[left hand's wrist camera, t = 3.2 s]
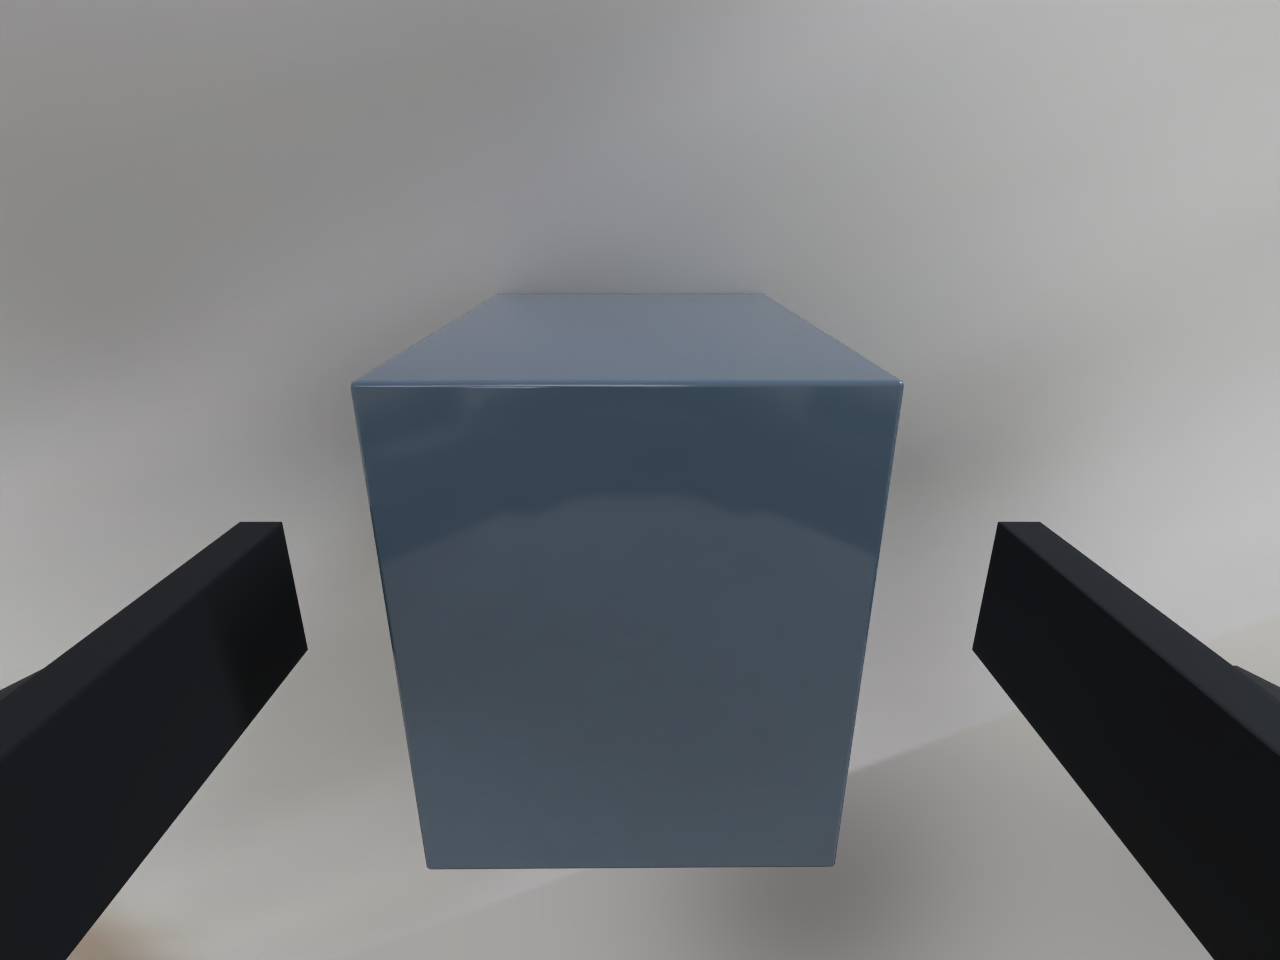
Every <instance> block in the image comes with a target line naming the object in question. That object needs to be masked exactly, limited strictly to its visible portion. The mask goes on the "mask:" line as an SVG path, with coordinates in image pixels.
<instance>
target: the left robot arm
mask: <svg viewBox="0 0 1280 960" xmlns="http://www.w3.org/2000/svg"><path fill="white" fill-rule="evenodd" d="M307 650H308V648H307V643H306V638H305V633H304V628H303V623H302V618H301V614H300V609H299V604H298V599H297V594H296V589H295V584H294V579H293V574H292V569H291V564H290V559H289V554H288V550H287V545H286V540H285V535H284V530H283V525H282V522H239V523H238V524H237V525H235V526H234V527H233V528H231V529H230V530H229V531H227V532H226V533H225V534H223V535H222V536H221V537H219V538H218V539H217V540H215V541H214V542H213V543H211V544H210V545H208V546H207V547H206V548H204V549H203V550H202V551H200V552H199V553H198V554H196V555H195V556H194V557H192V558H191V559H190V560H188V561H187V562H186V563H184V564H183V565H182V566H180V567H179V568H178V569H176V570H175V571H174V572H172V573H171V574H170V575H168V576H167V577H166V578H164V579H163V580H162V581H160V582H159V583H158V584H156V585H155V586H154V587H152V588H151V589H150V590H148V591H147V592H145V593H144V594H143V595H141V596H140V597H139V598H137V599H136V600H135V601H133V602H132V603H131V604H129V605H128V606H127V607H125V608H124V609H123V610H121V611H120V612H119V613H117V614H116V615H115V616H113V617H112V618H111V619H109V620H108V621H107V622H105V623H104V624H103V625H101V626H100V627H99V628H97V629H96V630H95V631H93V632H92V633H91V634H89V635H88V636H87V637H85V638H84V639H82V640H81V641H80V642H78V643H77V644H76V645H74V646H73V647H72V648H70V649H69V650H68V651H66V652H65V653H64V654H62V655H61V656H60V657H58V658H57V659H56V660H54V661H53V662H52V663H50V664H49V665H48V666H46V667H45V668H44V669H42V670H40V671H38V672H36V673H34V674H32V675H30V676H28V677H26V678H24V679H22V680H20V681H18V682H16V683H14V684H12V685H10V686H8V687H6V688H4V689H2V690H0V960H66V959H67V958H68V956H69V955H70V954H71V952H72V951H73V950H74V949H75V947H76V946H77V945H78V943H79V942H80V941H81V940H82V938H83V937H84V936H85V935H86V933H87V932H88V931H89V929H90V928H91V927H92V926H93V924H94V923H95V922H96V920H97V919H98V918H99V917H100V915H101V914H102V913H103V911H104V910H105V909H106V908H107V906H108V905H109V904H110V902H111V901H112V900H113V899H114V897H115V896H116V895H117V893H118V892H119V891H120V890H121V888H122V887H123V886H124V885H125V883H126V882H127V881H128V879H129V878H130V877H131V876H132V874H133V873H134V872H135V870H136V869H137V868H138V867H139V865H140V864H141V863H142V861H143V860H144V859H145V858H146V856H147V855H148V854H149V852H150V851H151V850H152V849H153V847H154V846H155V845H156V843H157V842H158V841H159V840H160V838H161V837H162V836H163V835H164V833H165V832H166V831H167V829H168V828H169V827H170V826H171V824H172V823H173V822H174V820H175V819H176V818H177V817H178V815H179V814H180V813H181V811H182V810H183V809H184V808H185V806H186V805H187V804H188V802H189V801H190V800H191V799H192V797H193V796H194V795H195V793H196V792H197V791H198V790H199V788H200V787H201V786H202V784H203V783H204V782H205V781H206V779H207V778H208V777H209V776H210V774H211V773H212V772H213V770H214V769H215V768H216V767H217V765H218V764H219V763H220V761H221V760H222V759H223V758H224V756H225V755H226V754H227V752H228V751H229V750H230V749H231V747H232V746H233V745H234V743H235V742H236V741H237V740H238V738H239V737H240V736H241V734H242V733H243V732H244V731H245V729H246V728H247V727H248V726H249V724H250V723H251V722H252V720H253V719H254V718H255V717H256V715H257V714H258V713H259V711H260V710H261V709H262V708H263V706H264V705H265V704H266V702H267V701H268V700H269V699H270V697H271V696H272V695H273V693H274V692H275V691H276V690H277V688H278V687H279V686H280V684H281V683H282V682H283V681H284V679H285V678H286V677H287V676H288V674H289V673H290V672H291V670H292V669H293V668H294V667H295V665H296V664H297V663H298V661H299V660H300V659H301V658H302V656H303V655H304V654H305V652H306V651H307ZM972 650H973V651H974V652H975V654H976V655H977V656H978V658H979V659H980V660H981V661H982V663H983V664H984V665H985V667H986V668H987V669H988V670H989V672H990V673H991V674H992V676H993V677H994V678H995V679H996V681H997V682H998V683H999V684H1000V686H1001V687H1002V688H1003V690H1004V691H1005V692H1006V693H1007V695H1008V696H1009V697H1010V699H1011V700H1012V701H1013V702H1014V704H1015V705H1016V706H1017V708H1018V709H1019V710H1020V711H1021V713H1022V714H1023V715H1024V717H1025V718H1026V719H1027V720H1028V722H1029V723H1030V724H1031V726H1032V727H1033V728H1034V729H1035V731H1036V732H1037V733H1038V734H1039V736H1040V737H1041V738H1042V740H1043V741H1044V742H1045V743H1046V745H1047V746H1048V747H1049V749H1050V750H1051V751H1052V752H1053V754H1054V755H1055V756H1056V758H1057V759H1058V760H1059V761H1060V763H1061V764H1062V765H1063V767H1064V768H1065V769H1066V770H1067V772H1068V773H1069V774H1070V776H1071V777H1072V778H1073V779H1074V781H1075V782H1076V783H1077V785H1078V786H1079V787H1080V788H1081V790H1082V791H1083V792H1084V793H1085V795H1086V796H1087V797H1088V799H1089V800H1090V801H1091V802H1092V804H1093V805H1094V806H1095V808H1096V809H1097V810H1098V811H1099V813H1100V814H1101V815H1102V817H1103V818H1104V819H1105V820H1106V822H1107V823H1108V824H1109V826H1110V827H1111V828H1112V829H1113V831H1114V832H1115V833H1116V835H1117V836H1118V837H1119V838H1120V840H1121V841H1122V842H1123V843H1124V845H1125V846H1126V847H1127V849H1128V850H1129V851H1130V852H1131V854H1132V855H1133V856H1134V858H1135V859H1136V860H1137V861H1138V863H1139V864H1140V865H1141V867H1142V868H1143V869H1144V870H1145V872H1146V873H1147V874H1148V875H1149V877H1150V878H1151V879H1152V881H1153V882H1154V883H1155V884H1156V886H1157V887H1158V888H1159V890H1160V891H1161V892H1162V893H1163V895H1164V896H1165V897H1166V899H1167V900H1168V901H1169V902H1170V904H1171V905H1172V906H1173V908H1174V909H1175V910H1176V911H1177V913H1178V914H1179V915H1180V916H1181V918H1182V919H1183V920H1184V922H1185V923H1186V924H1187V926H1188V927H1189V928H1190V929H1191V931H1192V932H1193V933H1194V935H1195V936H1196V937H1197V938H1198V940H1199V941H1200V942H1201V943H1202V945H1203V946H1204V947H1205V949H1206V950H1207V951H1208V952H1209V954H1210V955H1211V956H1212V958H1213V959H1214V960H1280V687H1278V686H1276V685H1274V684H1272V683H1270V682H1268V681H1266V680H1264V679H1262V678H1260V677H1258V676H1256V675H1254V674H1252V673H1250V672H1248V671H1246V670H1244V669H1242V668H1240V667H1238V666H1232V665H1231V664H1230V663H1228V662H1227V661H1226V660H1224V659H1223V658H1222V657H1220V656H1219V655H1218V654H1216V653H1215V652H1214V651H1212V650H1211V649H1210V648H1208V647H1207V646H1206V645H1204V644H1203V643H1202V642H1200V641H1199V640H1198V639H1196V638H1195V637H1193V636H1192V635H1191V634H1189V633H1188V632H1187V631H1185V630H1184V629H1183V628H1181V627H1180V626H1179V625H1177V624H1176V623H1175V622H1173V621H1172V620H1171V619H1169V618H1168V617H1167V616H1165V615H1164V614H1163V613H1161V612H1160V611H1159V610H1157V609H1156V608H1155V607H1153V606H1152V605H1151V604H1149V603H1148V602H1147V601H1145V600H1144V599H1143V598H1141V597H1140V596H1139V595H1137V594H1136V593H1135V592H1133V591H1132V590H1130V589H1129V588H1128V587H1126V586H1125V585H1124V584H1122V583H1121V582H1120V581H1118V580H1117V579H1116V578H1114V577H1113V576H1112V575H1110V574H1109V573H1108V572H1106V571H1105V570H1104V569H1102V568H1101V567H1100V566H1098V565H1097V564H1096V563H1094V562H1093V561H1092V560H1090V559H1089V558H1088V557H1086V556H1085V555H1084V554H1082V553H1081V552H1080V551H1078V550H1077V549H1076V548H1074V547H1073V546H1072V545H1070V544H1069V543H1067V542H1066V541H1065V540H1063V539H1062V538H1061V537H1059V536H1058V535H1057V534H1055V533H1054V532H1053V531H1051V530H1050V529H1049V528H1047V527H1046V526H1045V525H1043V524H1042V523H1041V522H998V525H997V530H996V535H995V540H994V545H993V550H992V554H991V559H990V564H989V569H988V574H987V579H986V584H985V589H984V594H983V599H982V604H981V609H980V614H979V618H978V623H977V628H976V633H975V638H974V643H973V648H972Z"/></svg>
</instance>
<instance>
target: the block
mask: <svg viewBox="0 0 1280 960" xmlns="http://www.w3.org/2000/svg"><path fill="white" fill-rule="evenodd" d="M903 387H904V385H903V381H901V380H900V379H898V378H896V377H895V376H893V375H892V374H890V373H889V372H887V371H885V370H884V369H882V368H881V367H879V366H877V365H876V364H874V363H873V362H871V361H869V360H868V359H866V358H865V357H863V356H862V355H860V354H858V353H857V352H855V351H854V350H852V349H850V348H849V347H847V346H846V345H844V344H843V343H841V342H839V341H838V340H836V339H835V338H833V337H831V336H830V335H828V334H827V333H825V332H824V331H822V330H820V329H819V328H817V327H816V326H814V325H812V324H811V323H809V322H808V321H806V320H805V319H803V318H801V317H800V316H798V315H797V314H795V313H793V312H792V311H790V310H789V309H787V308H786V307H784V306H782V305H781V304H779V303H778V302H776V301H774V300H773V299H771V298H770V297H768V296H767V295H765V294H498V295H496V296H494V297H493V298H491V299H489V300H488V301H486V302H484V303H483V304H481V305H479V306H478V307H476V308H474V309H473V310H471V311H469V312H468V313H466V314H464V315H463V316H461V317H459V318H458V319H456V320H454V321H453V322H451V323H449V324H448V325H446V326H444V327H443V328H441V329H439V330H438V331H436V332H435V333H433V334H431V335H430V336H428V337H426V338H425V339H423V340H421V341H420V342H418V343H416V344H415V345H413V346H411V347H410V348H408V349H406V350H405V351H403V352H401V353H400V354H398V355H396V356H395V357H393V358H391V359H390V360H388V361H386V362H385V363H383V364H381V365H380V366H378V367H376V368H375V369H373V370H371V371H370V372H368V373H366V374H365V375H363V376H361V377H360V378H358V379H357V380H355V381H353V382H352V384H351V392H352V398H353V405H354V411H355V417H356V423H357V430H358V436H359V442H360V449H361V455H362V461H363V467H364V474H365V480H366V486H367V493H368V499H369V505H370V511H371V518H372V524H373V530H374V537H375V543H376V549H377V556H378V562H379V568H380V574H381V581H382V587H383V593H384V600H385V606H386V612H387V618H388V625H389V631H390V637H391V644H392V650H393V656H394V663H395V669H396V675H397V681H398V688H399V694H400V700H401V707H402V713H403V719H404V725H405V732H406V738H407V744H408V751H409V757H410V763H411V770H412V776H413V782H414V788H415V795H416V801H417V807H418V814H419V820H420V826H421V832H422V839H423V845H424V851H425V858H426V864H427V868H429V869H533V868H676V867H678V868H679V867H822V866H823V867H825V866H833V865H834V863H835V857H836V849H837V843H838V836H839V829H840V822H841V815H842V808H843V801H844V794H845V788H846V781H847V774H848V767H849V760H850V753H851V746H852V739H853V732H854V725H855V719H856V712H857V705H858V698H859V691H860V684H861V677H862V670H863V663H864V656H865V650H866V643H867V636H868V629H869V622H870V615H871V608H872V601H873V594H874V587H875V581H876V574H877V567H878V560H879V553H880V546H881V539H882V532H883V525H884V518H885V511H886V505H887V498H888V491H889V484H890V477H891V470H892V463H893V456H894V449H895V442H896V436H897V429H898V422H899V415H900V408H901V401H902V394H903Z"/></svg>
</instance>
